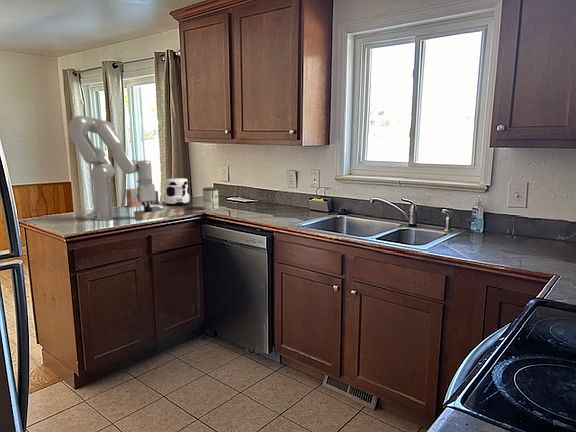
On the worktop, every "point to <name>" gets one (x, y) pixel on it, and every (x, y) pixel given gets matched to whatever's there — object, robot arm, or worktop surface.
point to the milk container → (176, 191)
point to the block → (154, 209)
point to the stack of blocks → (132, 198)
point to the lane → (159, 213)
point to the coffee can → (210, 198)
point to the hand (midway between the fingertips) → (147, 212)
